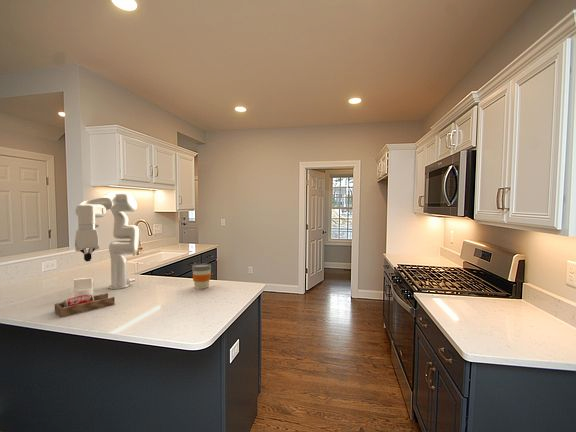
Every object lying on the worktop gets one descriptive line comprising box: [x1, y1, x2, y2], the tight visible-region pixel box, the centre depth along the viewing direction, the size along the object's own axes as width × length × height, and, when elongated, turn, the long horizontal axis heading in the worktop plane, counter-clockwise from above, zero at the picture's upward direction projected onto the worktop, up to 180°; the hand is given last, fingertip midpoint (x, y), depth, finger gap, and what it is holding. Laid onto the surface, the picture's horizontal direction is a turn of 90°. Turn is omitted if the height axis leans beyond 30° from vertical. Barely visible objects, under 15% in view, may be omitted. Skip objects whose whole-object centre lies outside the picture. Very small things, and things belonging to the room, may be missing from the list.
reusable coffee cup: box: [191, 263, 212, 290], centre depth 190 cm, size 12×13×15 cm
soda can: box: [63, 294, 94, 307], centre depth 148 cm, size 7×7×12 cm
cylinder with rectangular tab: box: [73, 276, 94, 297], centre depth 166 cm, size 9×9×12 cm
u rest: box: [54, 292, 116, 318], centre depth 150 cm, size 24×12×4 cm, turn 140°
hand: (87, 260), depth 151 cm, fingers closed
